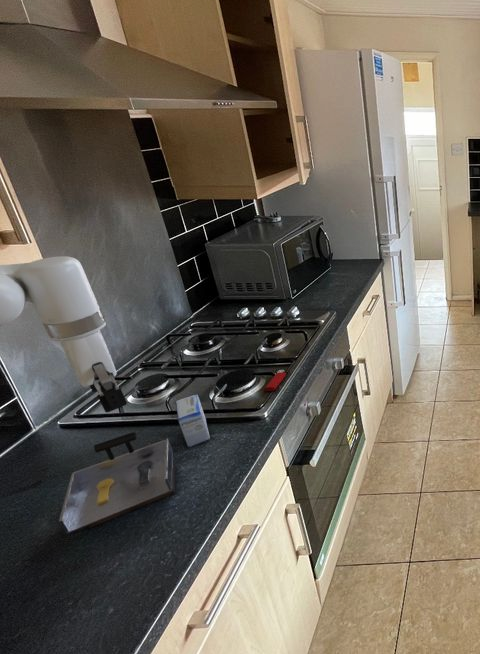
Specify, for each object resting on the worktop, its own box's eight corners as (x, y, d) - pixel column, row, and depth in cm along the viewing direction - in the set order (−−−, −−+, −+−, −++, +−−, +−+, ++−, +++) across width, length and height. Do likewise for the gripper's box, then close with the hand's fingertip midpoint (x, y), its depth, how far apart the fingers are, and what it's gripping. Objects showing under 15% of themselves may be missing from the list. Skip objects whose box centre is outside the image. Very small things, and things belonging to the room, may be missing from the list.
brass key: (93, 506, 77) (92, 504, 77) (98, 484, 82) (97, 482, 81) (111, 499, 79) (110, 497, 78) (114, 477, 83) (113, 476, 83)
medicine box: (185, 428, 102) (174, 400, 99) (206, 420, 105) (197, 393, 102) (188, 448, 97) (176, 419, 94) (211, 439, 100) (200, 410, 96)
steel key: (136, 486, 81) (135, 484, 81) (138, 465, 86) (137, 464, 86) (151, 480, 83) (151, 478, 82) (153, 460, 87) (152, 458, 87)
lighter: (264, 387, 115) (278, 369, 123) (265, 390, 116) (278, 373, 123) (274, 387, 115) (287, 369, 123) (275, 390, 116) (288, 373, 123)
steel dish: (66, 534, 73) (47, 503, 70) (79, 483, 82) (63, 453, 79) (172, 491, 81) (159, 461, 78) (172, 448, 90) (161, 421, 87)
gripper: (38, 317, 78) (74, 390, 85) (56, 348, 69) (95, 428, 75) (91, 302, 84) (121, 372, 90) (115, 330, 74) (147, 405, 81)
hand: (109, 397), depth 83 cm, fingers open, 9 cm apart
